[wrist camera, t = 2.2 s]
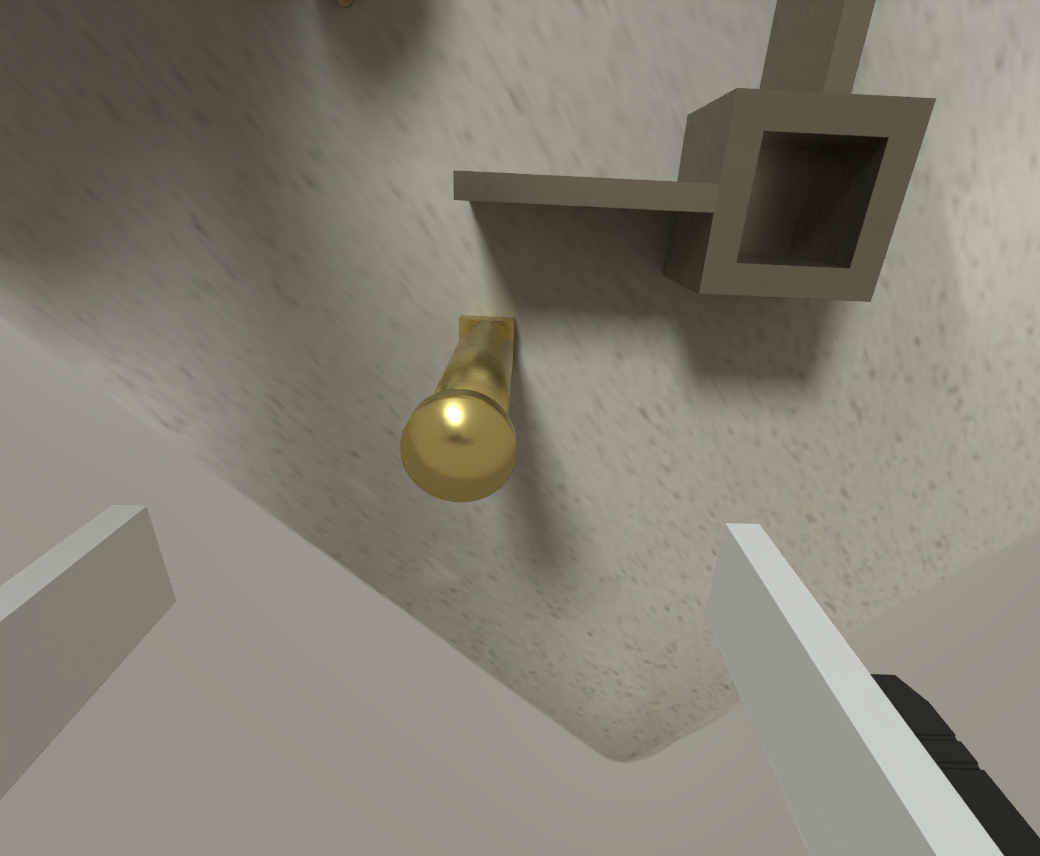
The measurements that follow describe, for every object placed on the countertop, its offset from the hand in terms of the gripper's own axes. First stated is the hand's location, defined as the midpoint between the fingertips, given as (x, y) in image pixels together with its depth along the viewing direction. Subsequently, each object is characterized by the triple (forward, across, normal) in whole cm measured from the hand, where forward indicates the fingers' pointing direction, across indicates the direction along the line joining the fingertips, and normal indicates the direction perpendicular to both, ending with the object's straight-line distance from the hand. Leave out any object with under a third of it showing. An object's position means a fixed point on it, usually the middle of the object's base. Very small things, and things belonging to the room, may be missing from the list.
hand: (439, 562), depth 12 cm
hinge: (+23, +9, +13) cm, 28 cm away
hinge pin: (+23, 0, 0) cm, 23 cm away
